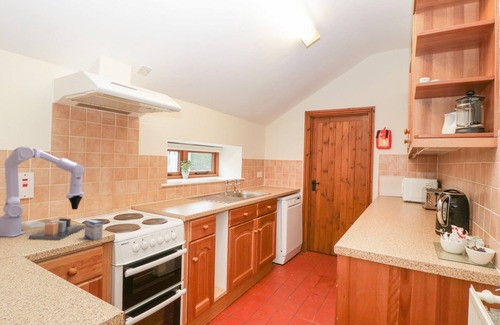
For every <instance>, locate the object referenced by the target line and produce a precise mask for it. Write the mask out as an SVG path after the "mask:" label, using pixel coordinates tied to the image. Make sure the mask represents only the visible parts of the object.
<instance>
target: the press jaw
mask: <svg viewBox="0 0 500 325" xmlns="http://www.w3.org/2000/svg"><path fill="white" fill-rule="evenodd" d="M51 221H52V220H50V221H48V223H50V222H51ZM53 221H54V223H59V226H58V232H64V231H66V227H69V226H70V225H71V218H59V219H58V220H53Z"/></svg>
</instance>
